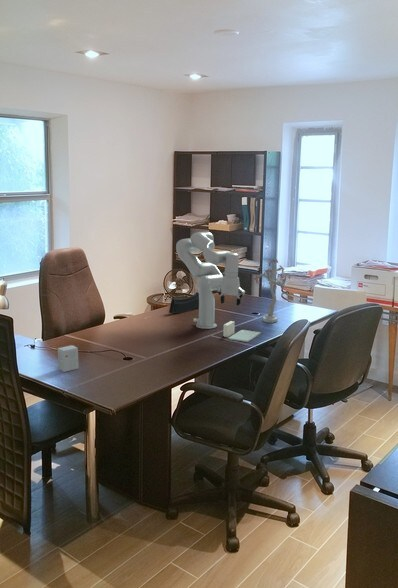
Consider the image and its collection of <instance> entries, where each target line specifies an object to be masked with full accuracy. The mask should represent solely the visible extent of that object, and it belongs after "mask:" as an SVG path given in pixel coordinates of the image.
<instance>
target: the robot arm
mask: <svg viewBox="0 0 398 588" xmlns="http://www.w3.org/2000/svg"><path fill="white" fill-rule="evenodd" d="M214 240H215V239H214V234H212V233H211V232H209V231H199V232H194V233H192V234H191V236H190V238H183V239H179V240H178V241H176V244H175V245H176V246H175V250H176V254H177V256H178V258H179V259H180V260H181V261H182V262H183V264H185V266H186V267H187V269H188V270H189V272H190V273H191V275H192V276H193V277H194V279H195V278H196V279H197V281H196V282H197V289H198V293H199V307H198V318H197V317H196V318H195V317H194V318H193V320H192V321H193V322H194V323H196V324H195V326H196V328H199V329H203V330H208V329H209V330H213V329H215V328H217V326H218V325H217V323H216V322H215V305H216V304H215V303H216V302H215V296H214V293H213V291H217V293H218V294H219V297H220V304H224V303H225V297H226V296H225V295H228V296H236V306H240V305H241V298H242V297H244V295H245V293H246V291H245V290H244V289H242V288H241V282H240V277H239V254H238V253H236V252H232V251H230V250H219V251H214V250H215V246H216V245H215V242H214ZM193 252H202V255H203V258H204V260H206V262H203V261H201V260H200V259H199V258H198V257H197V256H196V255H195V254H194V253H193ZM217 265H218V266H219V265H224V271H223V272H221V271H220V269H218V267H217ZM240 293H241V294H240Z"/></svg>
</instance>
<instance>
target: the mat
mask: <svg viewBox="0 0 398 588" xmlns="http://www.w3.org/2000/svg"><path fill="white" fill-rule="evenodd" d="M261 334H262V332H260V331H254V330H253V331H252V330H247V329H241V330H239V331H238V332H235V333H234V334H232V335H230V336H229V337H227V339H228V340H231V341H236V342H237V341H238V342H243V343H244V342H245V343H249V342H251V341H252V340H254V339H255V338H256V337H258V336H260V335H261Z"/></svg>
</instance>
